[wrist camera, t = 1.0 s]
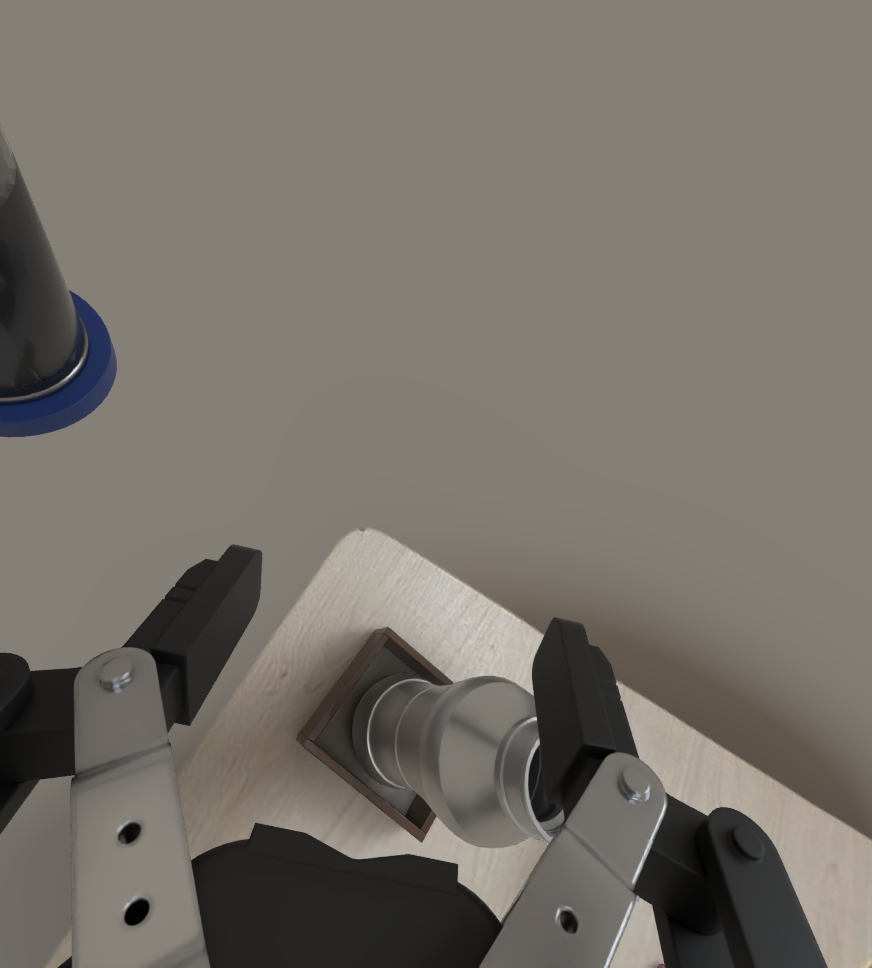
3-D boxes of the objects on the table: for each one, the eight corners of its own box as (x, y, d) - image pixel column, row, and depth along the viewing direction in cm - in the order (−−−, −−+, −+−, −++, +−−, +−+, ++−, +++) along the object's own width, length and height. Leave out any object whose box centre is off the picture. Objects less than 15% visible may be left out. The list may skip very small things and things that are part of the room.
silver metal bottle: (348, 790, 31) (505, 945, 14) (340, 680, 33) (469, 695, 16) (438, 766, 34) (664, 872, 17) (426, 665, 36) (616, 665, 19)
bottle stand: (295, 738, 31) (301, 745, 28) (376, 629, 35) (388, 626, 33) (405, 828, 32) (422, 843, 29) (471, 711, 36) (491, 714, 33)
